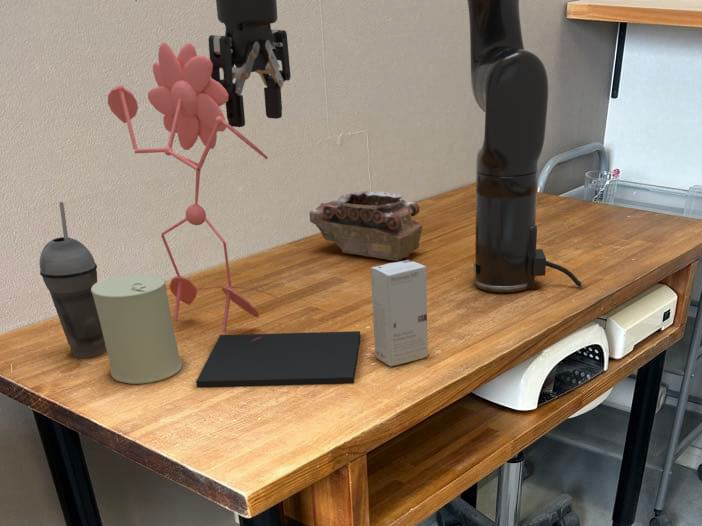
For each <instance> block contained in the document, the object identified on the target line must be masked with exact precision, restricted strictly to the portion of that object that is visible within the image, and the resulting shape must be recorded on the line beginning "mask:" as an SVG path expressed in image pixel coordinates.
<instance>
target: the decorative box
mask: <svg viewBox="0 0 702 526" xmlns="http://www.w3.org/2000/svg"><path fill="white" fill-rule="evenodd" d="M419 213H420V205H419V203H417V201H407V202H406V201H405V200H404V195H403V194H400V193H395V192H386V191H368V190H367V191H366V190H365V191H355V192H350V193H347V194H345V195H341V196H340V197H338V199H337V200H331V201H329V202H325V203H323V202H321V203H320V204H319V206H317V207H316V208H315V209H313V210H310V211H309V221H310V223H311V224H313V225H315V226H316V228H317V229H318V230H319V231H320V234H321V236H322V238H323V240H325V241H329V242H334V243H335V245H337V246H338V247H339V248H340V250H341V252H342V253H343V254H350V255H356V256H357V255H358V256H363V257H366V258H367V257H370V258H376V259H381V260H388V261H393V262H400V261H401V260H403V259H404V258H405V259H408V257H409V256H410V255H411V254H412V253H413V252H415V251H416V250H418V249H419V247H420V240H421V235H422V231H423V227H424V226H423V224H422V223H420V222H418V221H416V220H413V217H415V216H416V215H418V214H419Z"/></svg>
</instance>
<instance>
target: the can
mask: <svg viewBox="0 0 702 526" xmlns="http://www.w3.org/2000/svg"><path fill="white" fill-rule="evenodd" d="M166 285H167V284H166V279H165V278H164V277H163V276H161V275H159V274H155V273H147V272H134V273H124V274H119V275H118V274H117V275H114V276H113V275H112V276H110V277H107V278H104V279H102V280H99V281H97V283H95V284H94V285H93V286H92V288H91V292H92V294H93V297H94V301H95V305H96V309H97V313H98V316H99V320H100V324H101V328H102V332H103V336H104V340H105V346H106V352H107V353H106V354H107V356H108V357H107V358H108V361H109V366H110V375H111V377H112V378H113V380H115V381H117V382H120V383H123V384H130V385H141V384H150V383H156V382H160V381H163V380H165V379H169V378H170V377H173V376H174V375H176V374H177V373H179V372H180V371H181V369H182V367H183V362H182V360H181V358H180V353H179V348H178V345H177V339H176V334H175V329H174V324H173V319H172V313H171V307H170V303H169V298H168V291H167V286H166Z"/></svg>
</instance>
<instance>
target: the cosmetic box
mask: <svg viewBox="0 0 702 526" xmlns="http://www.w3.org/2000/svg"><path fill="white" fill-rule="evenodd" d="M370 277H371V278H370V279H371V300H372V318H373V337H374V356H375V358H376V359H377V360H379V361H380V362H382V363H383V364H385V365H387V366H388V367H394V366H399V365H402V364H406V363H411V362H414V361H418V360H421V359H424V358H427V357H428V355H429V352H428V351H429V350H428V349H429V347H428V345H429V344H428V300H427V299H428V297H427V296H428V295H427V266H426V265H423V264H422V263H418V262H416V261H414V260H411V259H406V260H399V261H393V262H389V263H385V264H382V265H377V266H372V267H371V268H370Z"/></svg>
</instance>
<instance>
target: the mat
mask: <svg viewBox="0 0 702 526" xmlns="http://www.w3.org/2000/svg"><path fill="white" fill-rule="evenodd" d="M259 337H261V338H259ZM256 338H259V339H256ZM254 339H256V340H254ZM252 340H254V341H252ZM251 341H252V342H251ZM360 341H361V331H359V330H354V331H353V330H351V331H350V330H349V331H318V332H314V331H313V332H286V333H285V332H284V333H283V332H281V333H280V332H277V333H249V334H248V333H247V334H246V333H245V334H244V333H242V334H220V335H219V336H218V338H217V341H216V342H215V344H214V345H213V347H212V348H213V349H212V350H211V352H210V354H209V355H208V358H207V360H206V361H205V363H204V365H203V367H202V369H201V371H200V373H199V375H198V377H197V379H196V381H195V382H196V387H197V388H208V387H209V388H214V387H246V386H247V387H249V386H251V387H253V386H284V385H285V386H288V385H318V384H319V385H320V384H321V385H322V384H328V385H329V384H354V382H355V376H356V368H357V363H358V355H359V349H360V348H359V347H360Z"/></svg>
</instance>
